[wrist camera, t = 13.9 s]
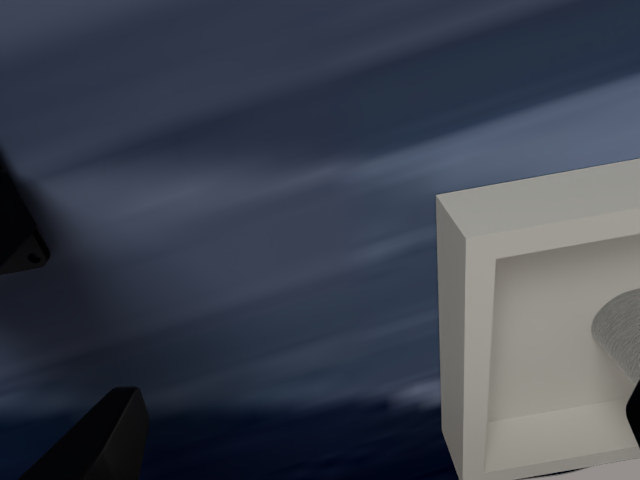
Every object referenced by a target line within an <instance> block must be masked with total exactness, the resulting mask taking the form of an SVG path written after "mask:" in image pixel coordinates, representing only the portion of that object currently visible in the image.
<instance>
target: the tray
mask: <svg viewBox="0 0 640 480" xmlns="http://www.w3.org/2000/svg"><path fill="white" fill-rule="evenodd" d="M436 221H437V260H438V299H439V337H440V376H441V415H442V432H443V435H444V438H445V441H446V443H447V446H448V449H449V452H450V455H451V458H452V460H453V463H454V466H455V469H456V472H457V474H458V477H459V480H515V479H521V478H526V477H532V476H538V475H544V474H550V473H555V472H561V471H567V470H573V469H579V468H584V467H590V466H596V465H602V464H607V463H613V462H619V461H625V460H631V459H636V458H640V448H639V446H638V444H637V441H636V439H635V436H634V434H633V432H632V429H631V427H630V425H629V422H628V420H627V416H626V404H627V402H628V400H629V398H630V396H631V394H632V392H633V390H634V388H635V386H634V385H633V384H632V383H631V381H630V380H629V379H628V378H627V377H626V376H625V374H624V373H623V372H622V371H621V370H620V368H619V367H618V366H617V365H616V364H615V363H614V361H613V360H612V359H611V358H610V357H609V355H608V354H607V353H606V352H605V351H604V350H603V348H602V347H601V346H600V345H599V344H598V342H597V341H596V340H595V339H594V337H593V336H592V332H591V326H592V322H593V319H594V317H595V316H596V314H597V313H598V311H599V310H600V309H601V308H602V307H603V306H604V305H605V304H606V303H607V302H609V301H610V300H611V299H613V298H615V297H616V296H618V295H620V294H622V293H625V292H627V291H631V290H635V289H640V159H634V160H629V161H623V162H617V163H612V164H606V165H601V166H595V167H589V168H584V169H578V170H573V171H567V172H562V173H556V174H550V175H545V176H539V177H534V178H528V179H523V180H517V181H511V182H506V183H500V184H495V185H489V186H483V187H478V188H472V189H467V190H461V191H456V192H450V193H444V194H439V195H436Z"/></svg>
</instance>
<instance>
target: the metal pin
mask: <svg viewBox="0 0 640 480" xmlns="http://www.w3.org/2000/svg"><path fill="white" fill-rule="evenodd" d="M591 332H592V336H593V337H594V339H595V340H596V341H597V342H598V344H599V345H600V346H601V347H602V348H603V350H604V351H605V352H606V353H607V354H608V355H609V357H610V358H611V359H612V360H613V361H614V363H615V364H616V365H617V366H618V367H619V368H620V370H621V371H622V372H623V373H624V374H625V376H626V377H627V378H628V379H629V380H630V381H631V383H632V384H633V385H634V386H636V385H637V383H638V381H639V379H640V289H635V290H631V291H627V292H625V293H622V294H620V295H618V296H616V297H615V298H613V299H611V300H610V301H609V302H607V303H606V304H605V305H604V306H603V307H602V308H601V309H600V310H599V311H598V313H597V314H596V316H595V317H594V319H593V322H592V326H591Z"/></svg>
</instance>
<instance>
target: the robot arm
mask: <svg viewBox="0 0 640 480" xmlns="http://www.w3.org/2000/svg"><path fill="white" fill-rule="evenodd" d="M32 253H34V254H37V255H38V256H39V257H40V258H37V257H34V256H33V255H32ZM49 259H50V252H49V250H48V248H47V246H46V245H45V243H44V241H43V239H42V238H41V236H40V234H39V232H38V230H37V229H36V224H35V222H34V220H33V218H32V217H31V215H30V213H29V211H28V209H27V208H26V206H25V204H24V202H23V200H22V199H21V197H20V195H19V193H18V192H17V190H16V188H15V186H14V184H13V183H12V181H11V179H10V177H9V176H8V174H7V173H6V172H4V170H3V168H2V167H1V165H0V275H1V274H7V273H12V272H18V271H24V270H29V269H35V268H40V267H43V266H44V265H45V264H46V263H47V261H48V260H49ZM626 416H627V420H628V422H629V425H630V427H631V429H632V432H633V434H634V436H635V439H636V441H637V444H638V446H639V448H640V379H639V381H638V383H637V385H636V386H635V388H634V390H633V392H632V394H631V396H630V398H629V400H628V402H627V404H626ZM148 429H149V415H148V412H147V409H146V406H145V402H144V399H143V396H142V393H141V391H140V389H139V388H138V387H135V386H129V387H116V388H114V389H112V390H111V391H110V392H109V393H107V394H106V395H105V396H104V397H103V398H102V399H101V400H100V401H99V402H98V403H97V404H96V405H95V406H94V407H93V408H92V409H91V410H90V411H89V412H88V413H87V414H86V415H85V416H83V417H82V418H81V419H80V420H79V421H78V422H77V423H76V424H75V425H74V426H73V427H72V428H71V429H70V430H69V431H68V432H67V433H66V434H65V435H64V436H63V437H62V438H61V439H59V440H58V441H57V442H56V443H55V444H54V445H53V446H52V447H51V448H50V449H49V450H48V451H47V452H46V453H45V454H44V455H43V456H42V457H41V458H40V459H39V460H38V461H37V462H35V463H34V464H33V465H32V466H31V467H30V468H29V469H28V470H27V471H26V472H25V473H24V474H23V475H22V476H21V477H20V478H19V479H18V480H138V478H139V473H140V468H141V464H142V459H143V454H144V449H145V444H146V439H147V434H148Z"/></svg>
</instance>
